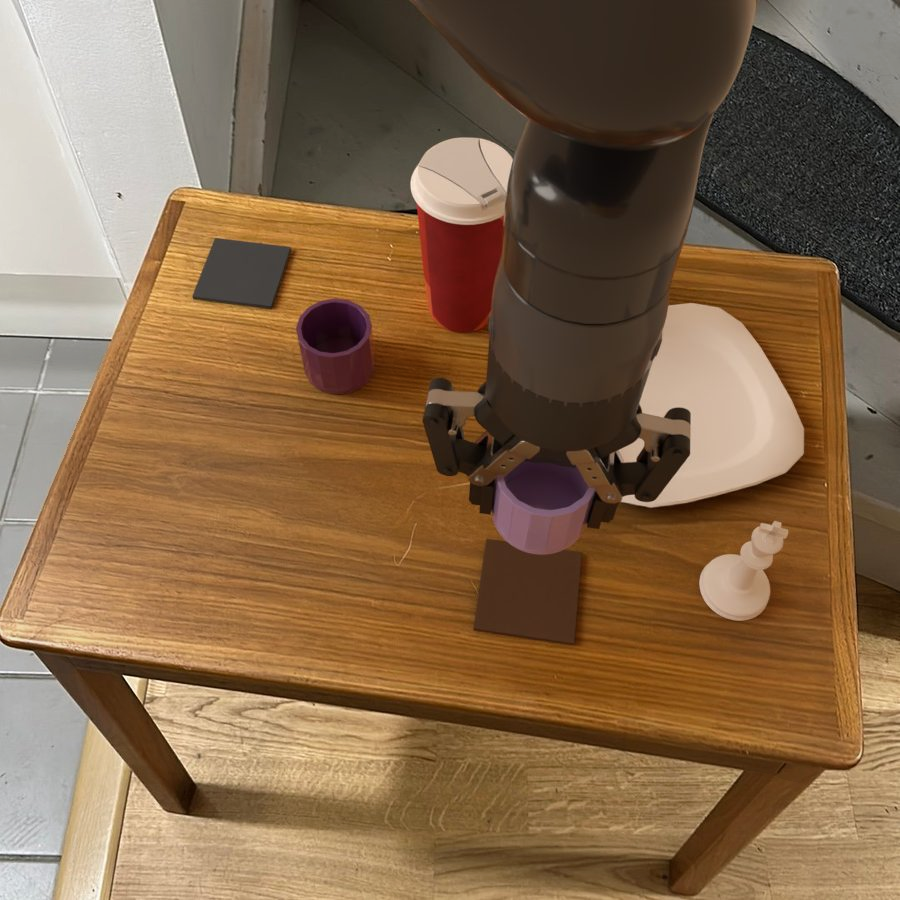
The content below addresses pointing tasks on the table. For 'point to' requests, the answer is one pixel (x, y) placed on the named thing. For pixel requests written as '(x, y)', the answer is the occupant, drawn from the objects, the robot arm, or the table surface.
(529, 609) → the front mat
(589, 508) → the lavender faceted cup
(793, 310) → the table surface
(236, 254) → the back mat
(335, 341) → the purple faceted tumbler
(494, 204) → the coffee cup
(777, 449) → the plate
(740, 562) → the chess piece
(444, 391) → the robot arm
